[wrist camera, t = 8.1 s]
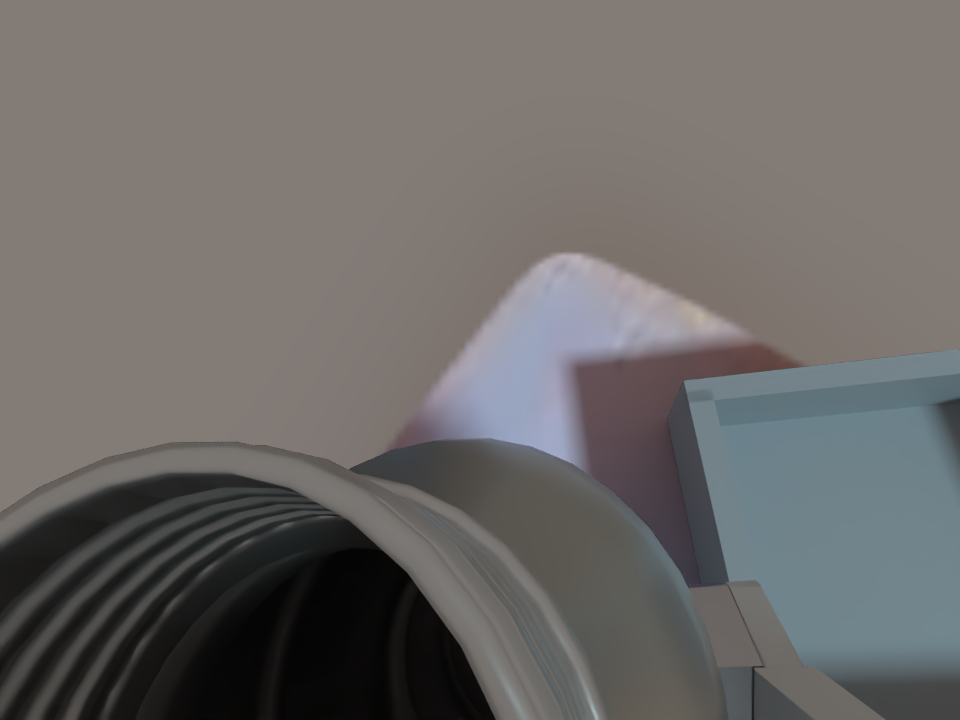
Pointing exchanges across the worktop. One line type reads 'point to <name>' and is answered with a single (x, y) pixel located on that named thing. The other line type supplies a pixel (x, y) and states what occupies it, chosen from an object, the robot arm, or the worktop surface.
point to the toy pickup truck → (838, 515)
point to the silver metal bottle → (344, 592)
